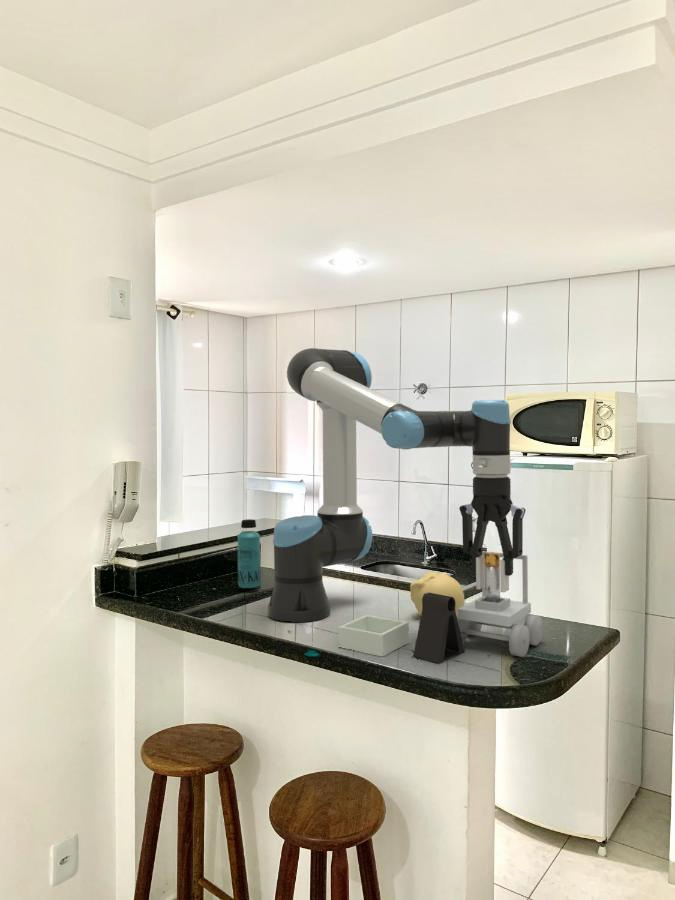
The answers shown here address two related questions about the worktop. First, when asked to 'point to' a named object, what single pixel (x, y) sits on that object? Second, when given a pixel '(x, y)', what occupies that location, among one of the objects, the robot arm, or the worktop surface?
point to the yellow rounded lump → (436, 589)
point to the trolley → (503, 618)
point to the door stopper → (438, 630)
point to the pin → (492, 577)
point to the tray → (374, 635)
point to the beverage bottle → (248, 556)
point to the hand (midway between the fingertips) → (492, 589)
